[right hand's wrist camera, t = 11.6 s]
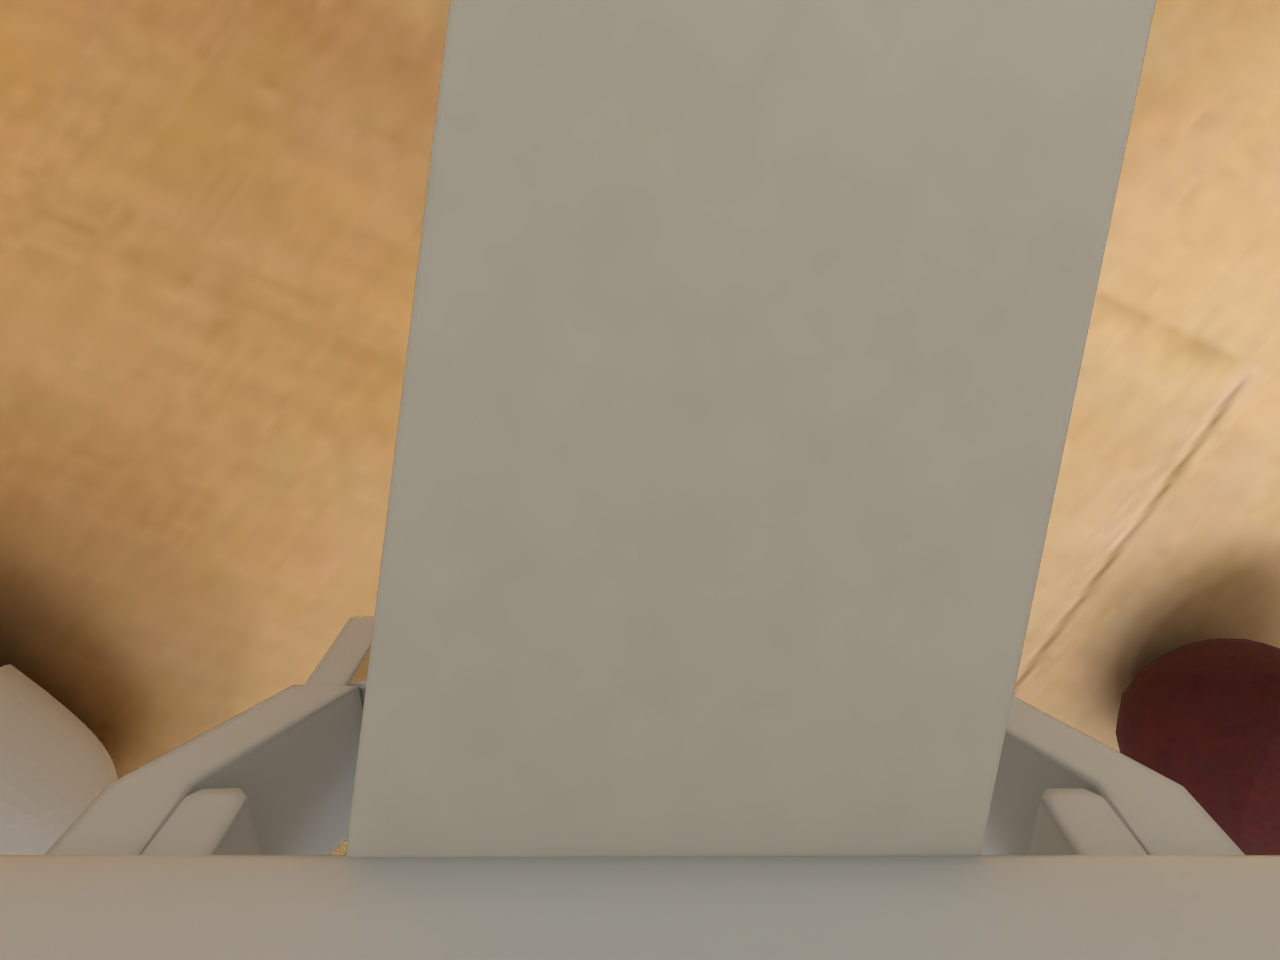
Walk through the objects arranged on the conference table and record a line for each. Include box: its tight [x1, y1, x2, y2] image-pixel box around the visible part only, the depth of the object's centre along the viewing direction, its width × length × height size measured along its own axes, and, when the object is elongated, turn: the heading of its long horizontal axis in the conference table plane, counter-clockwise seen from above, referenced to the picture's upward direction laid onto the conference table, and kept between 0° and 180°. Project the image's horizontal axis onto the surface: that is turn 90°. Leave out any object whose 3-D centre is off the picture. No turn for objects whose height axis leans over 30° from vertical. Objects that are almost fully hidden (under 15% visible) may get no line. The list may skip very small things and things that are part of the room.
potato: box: [1116, 639, 1280, 855], centre depth 26 cm, size 7×8×7 cm
